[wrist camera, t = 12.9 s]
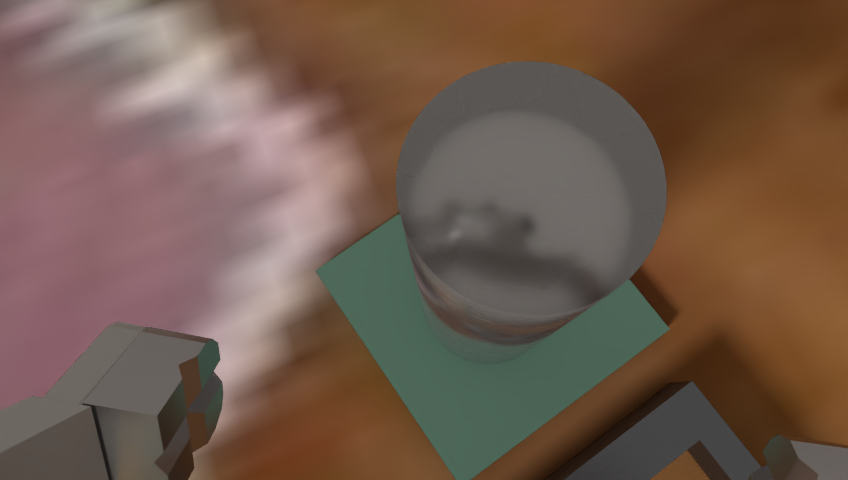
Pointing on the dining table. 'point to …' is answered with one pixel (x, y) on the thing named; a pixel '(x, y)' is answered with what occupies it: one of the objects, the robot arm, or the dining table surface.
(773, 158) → the dining table surface
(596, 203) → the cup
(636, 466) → the grey double frame
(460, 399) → the mat
